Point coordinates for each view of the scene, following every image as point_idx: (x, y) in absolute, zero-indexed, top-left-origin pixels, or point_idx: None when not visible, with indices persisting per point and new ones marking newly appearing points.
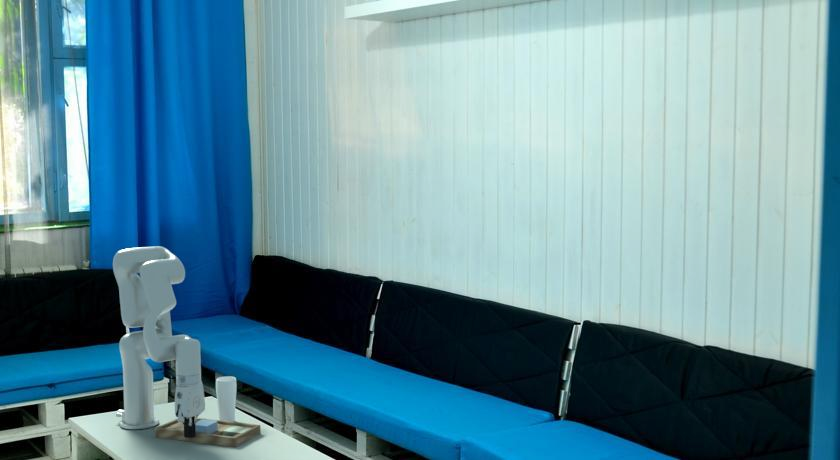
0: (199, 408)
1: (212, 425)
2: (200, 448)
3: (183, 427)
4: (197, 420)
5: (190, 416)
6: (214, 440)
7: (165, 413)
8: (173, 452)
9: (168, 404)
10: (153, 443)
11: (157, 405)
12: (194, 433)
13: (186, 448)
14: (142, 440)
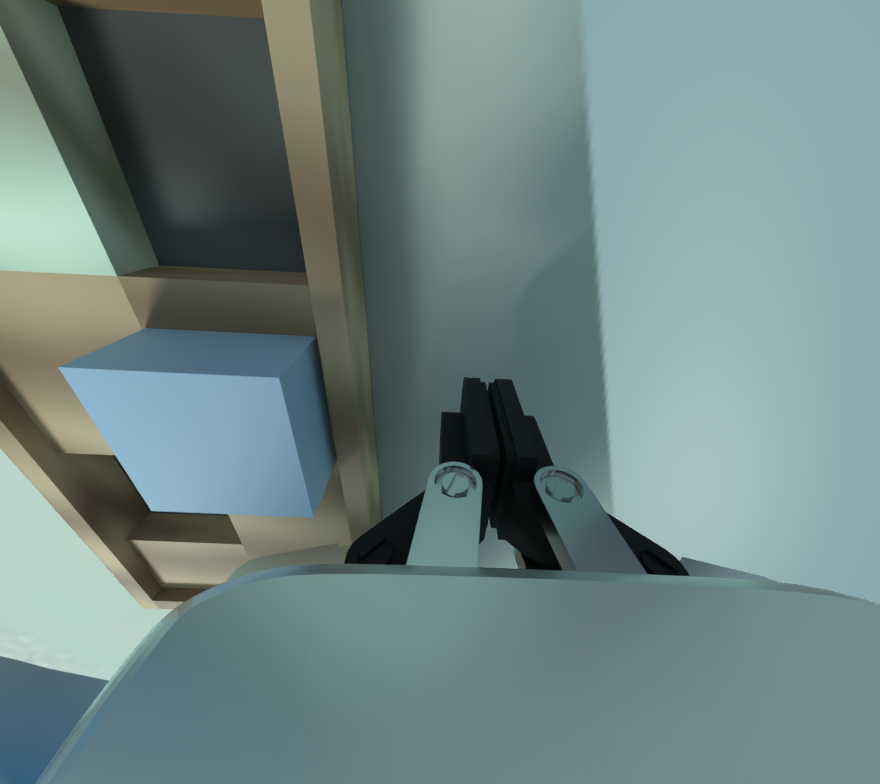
0: (466, 770)
1: (180, 362)
2: (491, 281)
3: (263, 540)
4: (117, 537)
5: (855, 616)
6: (348, 223)
7: (135, 642)
8: (606, 407)
9: (61, 665)
10: None
11: (101, 677)
12: (483, 394)
13: (513, 376)
14: None
